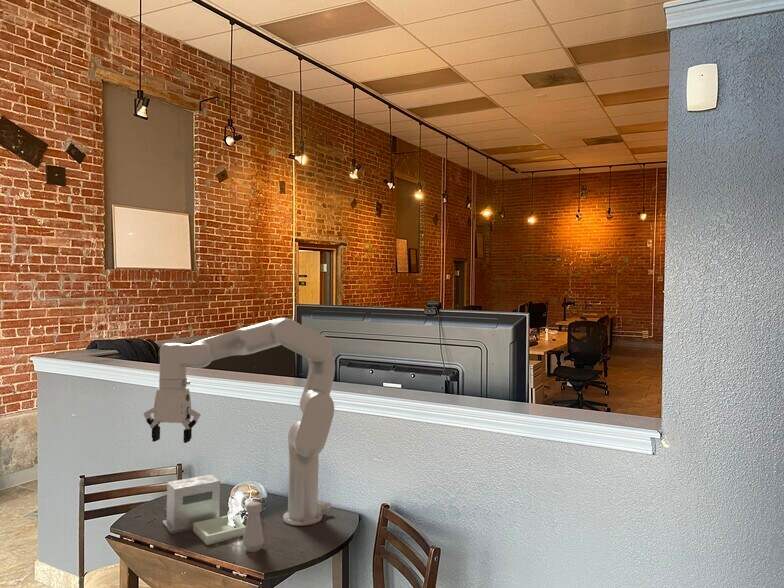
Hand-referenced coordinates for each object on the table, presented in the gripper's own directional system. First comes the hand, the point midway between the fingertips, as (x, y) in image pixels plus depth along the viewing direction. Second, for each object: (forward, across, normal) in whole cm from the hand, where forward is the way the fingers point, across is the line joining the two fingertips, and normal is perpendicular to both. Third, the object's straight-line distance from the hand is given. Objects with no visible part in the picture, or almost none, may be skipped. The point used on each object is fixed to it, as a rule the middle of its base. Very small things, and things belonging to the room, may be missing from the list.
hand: (171, 441), depth 169 cm
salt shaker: (+28, -28, +6) cm, 40 cm away
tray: (+28, -14, -3) cm, 31 cm away
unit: (+28, -3, -9) cm, 29 cm away
